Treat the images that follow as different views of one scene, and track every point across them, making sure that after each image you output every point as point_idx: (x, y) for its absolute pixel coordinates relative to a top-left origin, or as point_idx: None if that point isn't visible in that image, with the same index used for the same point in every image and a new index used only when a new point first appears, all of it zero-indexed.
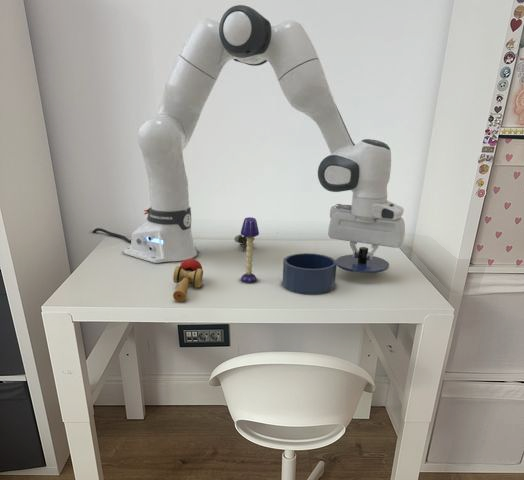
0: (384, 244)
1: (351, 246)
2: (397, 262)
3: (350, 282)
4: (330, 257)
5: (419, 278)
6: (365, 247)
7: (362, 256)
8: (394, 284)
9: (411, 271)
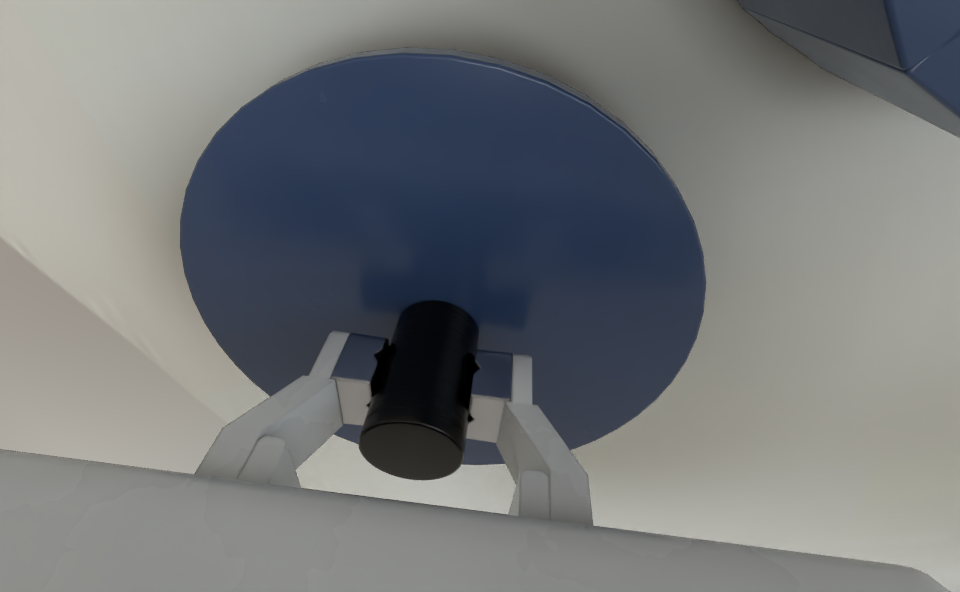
0: (27, 476)
1: (561, 458)
2: (334, 476)
3: (500, 52)
4: (934, 60)
5: (111, 321)
6: (401, 472)
7: (418, 352)
8: (155, 158)
9: (213, 399)
